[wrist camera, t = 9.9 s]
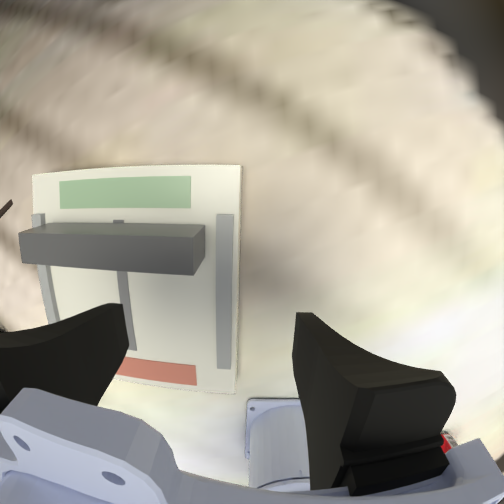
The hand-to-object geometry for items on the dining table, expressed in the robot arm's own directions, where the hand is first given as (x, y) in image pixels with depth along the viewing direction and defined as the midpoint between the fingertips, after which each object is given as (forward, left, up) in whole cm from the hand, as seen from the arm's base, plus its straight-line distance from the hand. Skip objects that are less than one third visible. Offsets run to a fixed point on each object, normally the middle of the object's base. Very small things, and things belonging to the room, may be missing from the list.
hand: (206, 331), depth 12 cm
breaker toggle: (+2, +7, -8) cm, 11 cm away
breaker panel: (-2, +7, -10) cm, 13 cm away
